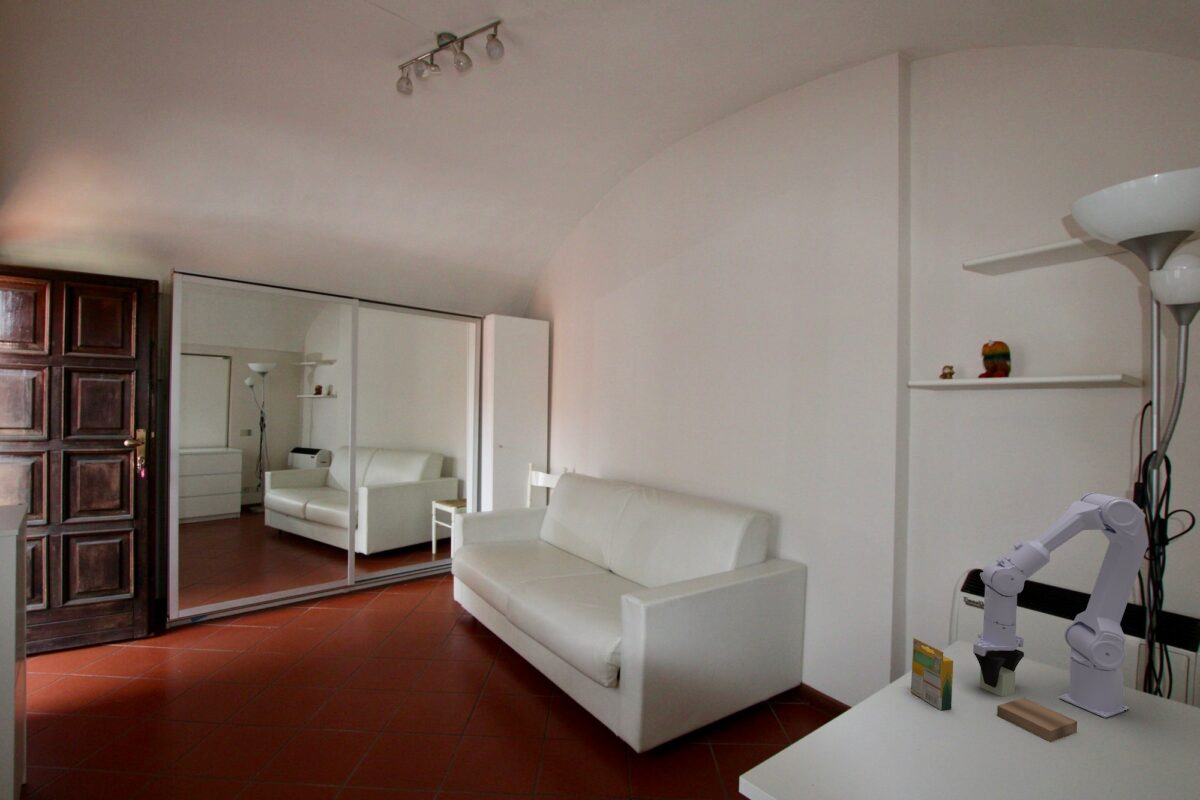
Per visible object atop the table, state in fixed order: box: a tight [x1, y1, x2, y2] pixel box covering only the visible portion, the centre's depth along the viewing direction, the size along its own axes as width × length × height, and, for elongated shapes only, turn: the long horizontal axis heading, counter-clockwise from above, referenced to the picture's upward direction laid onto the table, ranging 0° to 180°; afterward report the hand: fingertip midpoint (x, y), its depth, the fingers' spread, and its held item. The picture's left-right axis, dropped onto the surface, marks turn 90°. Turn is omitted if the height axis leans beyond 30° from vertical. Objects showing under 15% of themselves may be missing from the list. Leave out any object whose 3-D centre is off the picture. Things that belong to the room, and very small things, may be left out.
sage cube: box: [979, 666, 1016, 698], centre depth 119 cm, size 4×4×4 cm
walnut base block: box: [996, 697, 1078, 743], centre depth 106 cm, size 9×9×2 cm
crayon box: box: [910, 637, 954, 711], centre depth 113 cm, size 7×3×12 cm, turn 17°
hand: (997, 683), depth 119 cm, fingers closed on sage cube, 4 cm apart
